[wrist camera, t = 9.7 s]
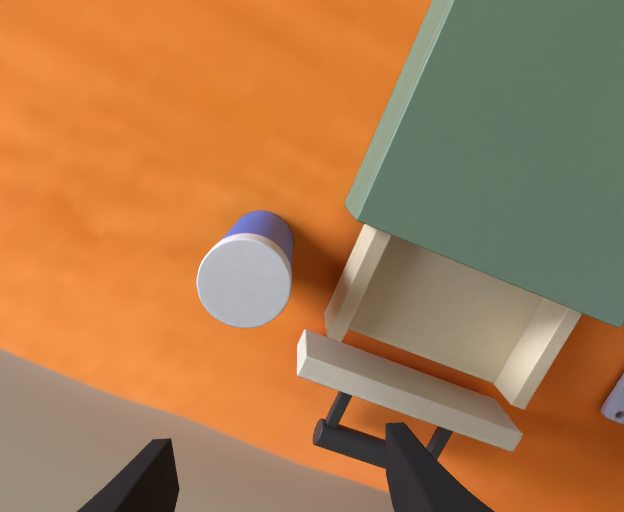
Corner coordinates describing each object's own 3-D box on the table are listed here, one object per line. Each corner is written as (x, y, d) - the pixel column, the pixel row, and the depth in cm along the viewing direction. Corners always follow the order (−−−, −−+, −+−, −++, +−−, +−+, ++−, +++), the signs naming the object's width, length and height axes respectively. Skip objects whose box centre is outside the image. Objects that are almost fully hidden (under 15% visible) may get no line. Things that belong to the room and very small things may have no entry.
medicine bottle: (303, 224, 22) (305, 259, 15) (280, 281, 23) (271, 341, 16) (242, 199, 22) (214, 224, 15) (220, 258, 23) (183, 310, 15)
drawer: (454, 469, 26) (476, 513, 22) (270, 406, 24) (265, 444, 21) (606, 208, 22) (658, 217, 19) (399, 114, 20) (416, 107, 17)
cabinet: (556, 293, 24) (620, 329, 19) (343, 205, 22) (355, 220, 17) (703, 40, 21) (824, 7, 16) (468, -85, 19) (525, -163, 14)
